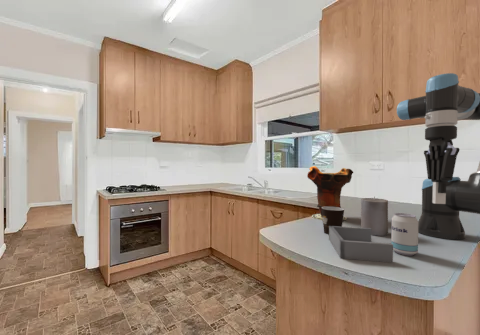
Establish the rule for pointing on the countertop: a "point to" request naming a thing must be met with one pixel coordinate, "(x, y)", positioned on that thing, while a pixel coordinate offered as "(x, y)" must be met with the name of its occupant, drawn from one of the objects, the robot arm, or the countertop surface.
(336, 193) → the decorative vase
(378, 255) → the box
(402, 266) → the countertop surface
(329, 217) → the coffee mug
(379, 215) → the pillar candle
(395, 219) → the beverage can
